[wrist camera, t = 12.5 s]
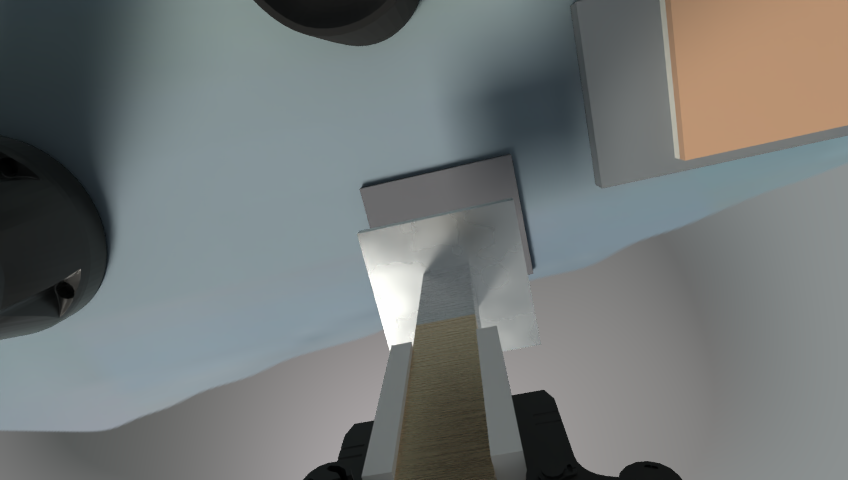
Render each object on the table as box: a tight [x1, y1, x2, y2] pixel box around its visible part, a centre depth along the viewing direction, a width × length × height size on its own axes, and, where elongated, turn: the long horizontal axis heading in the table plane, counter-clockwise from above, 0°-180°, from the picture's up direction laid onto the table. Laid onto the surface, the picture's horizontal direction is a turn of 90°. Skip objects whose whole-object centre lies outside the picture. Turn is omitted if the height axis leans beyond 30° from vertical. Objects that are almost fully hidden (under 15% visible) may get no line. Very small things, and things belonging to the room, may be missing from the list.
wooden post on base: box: [357, 198, 541, 480], centre depth 18 cm, size 8×8×18 cm
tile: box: [660, 0, 848, 161], centre depth 31 cm, size 2×10×10 cm
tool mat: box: [360, 154, 533, 275], centre depth 36 cm, size 11×9×1 cm
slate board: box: [570, 0, 848, 188], centre depth 32 cm, size 16×12×2 cm
